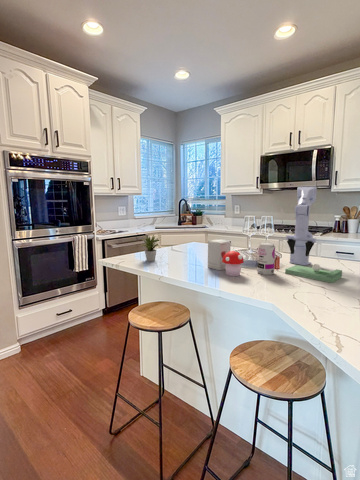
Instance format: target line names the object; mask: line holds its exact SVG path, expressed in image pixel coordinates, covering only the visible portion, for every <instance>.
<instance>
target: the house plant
mask: <svg viewBox="0 0 360 480" xmlns="http://www.w3.org/2000/svg"><path fill="white" fill-rule="evenodd" d="M155 238H156V239H155ZM161 238H162V237H156V235H155V234H153V235H152V237H151V236H150V234H148V236H144V238H142V241H144V243H145V244H143V243H141V244H140V246H144V247H146V249H145V250H144V253H145V259H146V261H147V262H155V261H156V255H157V249H155V248H156V247H157V246H158V247H160V244H159V242H158V241H160V240H161ZM156 242H158V243H156ZM154 260H155V261H154Z"/></svg>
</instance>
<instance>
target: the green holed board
mask: <svg viewBox="0 0 360 480" xmlns="http://www.w3.org/2000/svg"><path fill="white" fill-rule="evenodd" d="M284 271H285V272H284V273H285V274H287V275H288V274H289V275H293V276H298V277H303V278H307V279H312V280H317V281H319V282H320V281H322V282H325V283H326V282H327V283H332V284H333V283H334V282H336V281H338V280H340V279H342V277H343V270H342V269H337V268H336V269H334V270H333V271H331V270H327V269H326V270H325V269H321V268H320V270H319V271H314V270H313V269H312V267H309V266H306V265H299V264H294V265H293V266H290V267H287V268H285V270H284Z"/></svg>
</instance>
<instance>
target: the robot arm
mask: <svg viewBox="0 0 360 480" xmlns="http://www.w3.org/2000/svg"><path fill="white" fill-rule="evenodd" d="M317 188H318V187H317V186H316V185H315V186H298V187H297V190H296V193H297V194H296V195H297V197H296V199H297V205H295V208H294V215H295V217H294V220H295V225H294V227H295V228H294V235H290V234H289V235H288V234H287V235H286V236H285V240H286V243H287V245H288V247H289V249H290V257H289V263H290V264H294V265H299V266H308V265H310V264H312V262H311V261H309V260H310V259H309V258H310V253H311V250H312V248H313V247H314V245H315V244H316V243H317V238H316V237H315V238H314V235H313V234H312V233H311V232H310V231H309V224H310V223H309V222H310V213H311V212H310V211H311V206H312V204H313V203H315V202H316V199H317Z"/></svg>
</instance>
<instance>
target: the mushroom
mask: <svg viewBox="0 0 360 480" xmlns="http://www.w3.org/2000/svg"><path fill="white" fill-rule="evenodd" d="M222 262H223V263H226V267H225V268H226V269H225V274H226V276H230V277H239V276H240V274H241V271H242V264H243V263H245V262H244V256H243V255H242V254H241V253H240V252H238V251H236V250H235V249H233V250H230V251H229V252H227V253H226V254H225V255H224V256H223V260H222Z"/></svg>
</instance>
